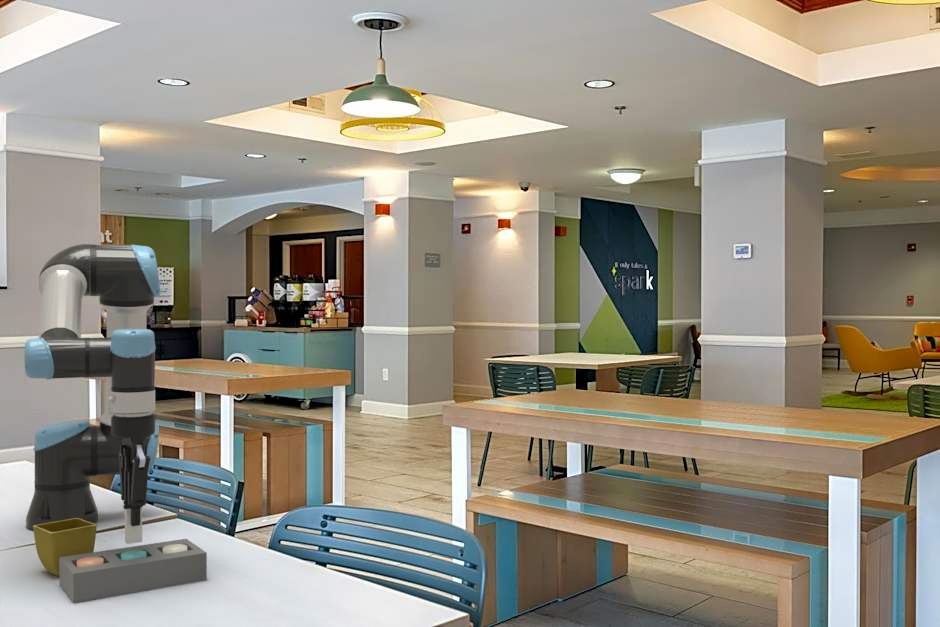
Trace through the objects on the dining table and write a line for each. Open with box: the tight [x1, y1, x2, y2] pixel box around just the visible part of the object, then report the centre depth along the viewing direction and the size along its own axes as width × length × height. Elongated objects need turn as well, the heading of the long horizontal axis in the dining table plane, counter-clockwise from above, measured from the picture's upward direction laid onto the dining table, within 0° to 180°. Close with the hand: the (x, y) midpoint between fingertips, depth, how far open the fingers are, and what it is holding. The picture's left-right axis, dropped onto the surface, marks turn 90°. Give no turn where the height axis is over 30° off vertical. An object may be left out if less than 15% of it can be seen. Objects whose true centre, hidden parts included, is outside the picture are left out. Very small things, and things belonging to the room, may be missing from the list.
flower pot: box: [32, 518, 98, 577], centre depth 173 cm, size 9×9×9 cm
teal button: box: [121, 550, 146, 561], centre depth 166 cm, size 4×4×3 cm
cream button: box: [163, 544, 187, 554], centre depth 170 cm, size 4×4×3 cm
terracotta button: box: [77, 557, 104, 568], centre depth 162 cm, size 4×4×3 cm
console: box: [58, 538, 208, 604], centre depth 166 cm, size 12×23×5 cm, turn 125°
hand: (133, 541), depth 167 cm, fingers closed
